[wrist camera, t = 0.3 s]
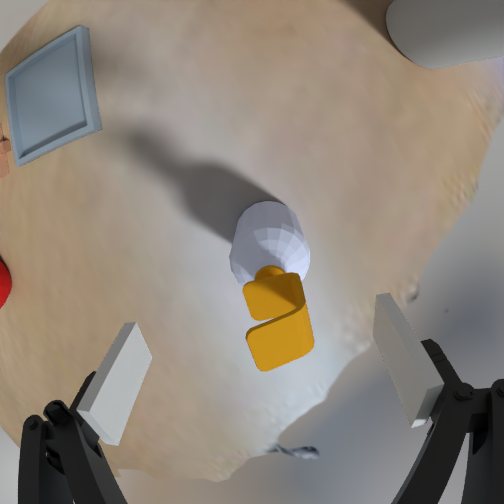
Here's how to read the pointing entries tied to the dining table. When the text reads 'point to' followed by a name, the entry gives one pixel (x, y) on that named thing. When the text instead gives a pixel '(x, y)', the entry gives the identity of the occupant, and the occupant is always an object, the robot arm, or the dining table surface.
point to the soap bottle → (273, 282)
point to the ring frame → (3, 155)
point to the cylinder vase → (447, 30)
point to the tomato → (4, 284)
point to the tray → (52, 97)
